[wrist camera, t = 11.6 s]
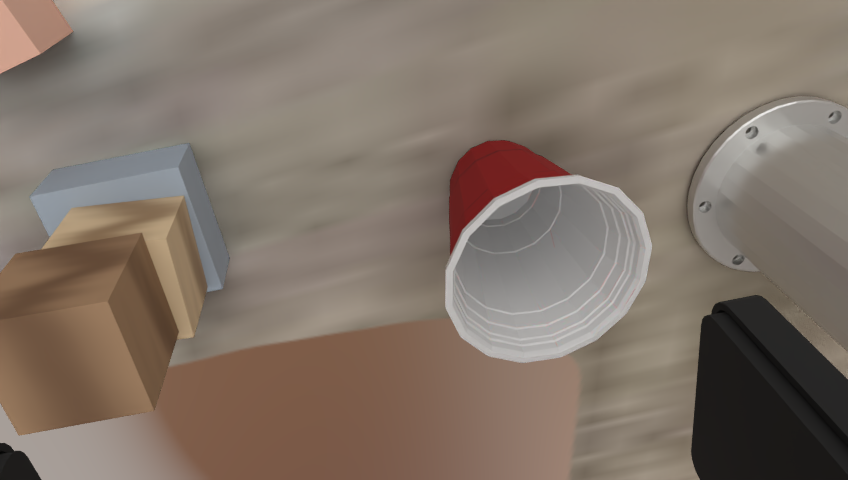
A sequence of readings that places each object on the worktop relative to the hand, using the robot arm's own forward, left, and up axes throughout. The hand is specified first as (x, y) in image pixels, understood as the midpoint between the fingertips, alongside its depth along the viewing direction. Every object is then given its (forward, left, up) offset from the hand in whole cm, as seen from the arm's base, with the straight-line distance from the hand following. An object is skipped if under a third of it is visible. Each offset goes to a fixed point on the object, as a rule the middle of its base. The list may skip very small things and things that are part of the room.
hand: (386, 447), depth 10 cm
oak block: (+13, +10, -29) cm, 33 cm away
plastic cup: (-8, +12, -32) cm, 36 cm away
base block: (+14, +10, -33) cm, 37 cm away
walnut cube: (+14, +10, -24) cm, 29 cm away
